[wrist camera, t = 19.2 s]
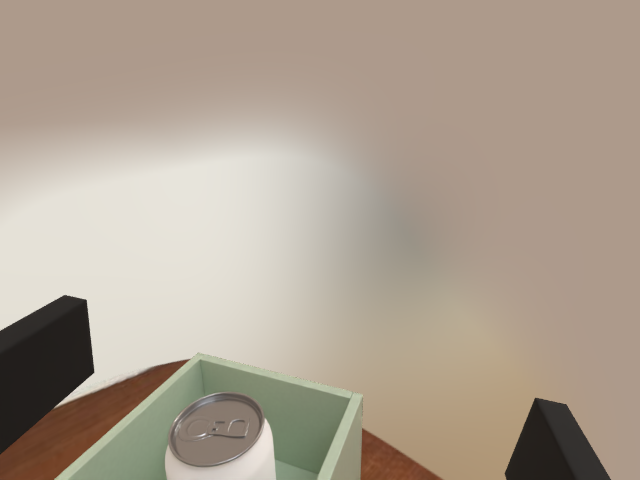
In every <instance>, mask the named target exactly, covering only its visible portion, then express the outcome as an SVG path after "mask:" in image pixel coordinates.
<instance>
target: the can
mask: <svg viewBox="0 0 640 480" xmlns="http://www.w3.org/2000/svg"><path fill="white" fill-rule="evenodd" d="M165 470H166V477H167V480H276V472H275V459H274V446H273V437H272V432H271V428H270V425H269V423H268V422H267V420H266V419H265V417H264V412H263V409H262V407H261V405H260V404H259V403H258V402H257V401H256V400H255V399H254V398H252V397H250V396H248V395H246V394H243V393H239V392H218V393H214V394H210V395H207V396H204V397H202V398H200V399H198V400H196V401H194V402H192V403H191V404H189V405H188V406H187V407H186V408H184V409H183V410H182V411H181V412H180V413H179V414H178V415H177V417H176V418H175V420H174V421H173V423H172V425H171V427H170V430H169V434H168V447H167V450H166V454H165Z"/></svg>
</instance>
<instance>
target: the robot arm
mask: <svg viewBox="0 0 640 480" xmlns="http://www.w3.org/2000/svg"><path fill="white" fill-rule="evenodd" d="M93 373H94V365H93V355H92V346H91V337H90V328H89V318H88V308H87V300H85V299H80V298H76V297H71V296H67V295H64V296H62V297H60V298H59V299H57V300H55V301H53V302H51V303H49V304H48V305H46V306H44V307H42V308H41V309H39V310H37V311H35V312H33V313H31V314H30V315H28V316H26V317H24V318H22V319H21V320H19V321H17V322H15V323H13V324H12V325H10V326H8V327H6V328H4V329H3V330H1V331H0V454H1V453H2V452H4V451H5V450H6V449H7V448H8V447H9V446H10V445H12V444H13V443H14V442H15V441H16V440H17V439H19V438H20V437H21V436H22V435H23V434H24V433H25V432H27V431H28V430H29V429H30V428H31V427H32V426H33V425H35V424H36V423H37V422H38V421H39V420H40V419H41V418H43V417H44V416H45V415H46V414H47V413H48V412H50V411H51V410H52V409H53V408H54V407H55V406H56V405H58V404H59V403H60V402H61V401H62V400H63V399H64V398H66V397H67V396H68V395H69V394H70V393H71V392H73V391H74V390H75V389H76V388H77V387H78V386H79V385H81V384H82V383H83V382H84V381H85V380H86V379H87V378H89V377H90V376H91V375H92V374H93ZM505 476H506V479H507V480H611V479H610V477H609V476H608V474H607V472H606V471H605V469H604V467H603V465H602V464H601V463H600V460H599V459H598V457H597V455H596V454H595V452H594V450H593V449H592V447H591V445H590V444H589V442H588V440H587V438H586V437H585V435H584V434H583V432H582V430H581V428H580V427H579V425H578V423H577V422H576V420H575V418H574V417H573V415H572V413H571V411H570V410H569V408H568V406H567V405H566V404H562V403H557V402H553V401H548V400H543V399H539V398H535V399H534V402H533V405H532V407H531V409H530V412H529V415H528V417H527V420H526V422H525V424H524V427H523V430H522V432H521V434H520V437H519V439H518V442H517V444H516V447H515V449H514V452H513V454H512V457H511V459H510V462H509V464H508V467H507V469H506V472H505Z"/></svg>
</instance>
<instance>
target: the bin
mask: <svg viewBox="0 0 640 480" xmlns="http://www.w3.org/2000/svg"><path fill="white" fill-rule="evenodd" d="M218 392H239V393H243V394H246V395H248V396H250V397H252V398H254V399H255V400H256V401H257V402H258V403H259V404H260V405H261V407H262V409H263V412H264V417H265V419H266V420H267V422H268V423H269V425H270V428H271V432H272V437H273V446H274V459H275V472H276V480H360V475H361V441H362V408H363V395H362V394H359V393H355V392H352V391H348V390H343V389H339V388H336V387H332V386H328V385H324V384H320V383H316V382H312V381H308V380H304V379H300V378H296V377H292V376H288V375H285V374H280V373H277V372H273V371H269V370H265V369H261V368H257V367H253V366H249V365H245V364H241V363H237V362H233V361H229V360H226V359H222V358H218V357H214V356H210V355H205V354H202V353H197V354H196V355H195V356H194V357H193V358H192V359H190V360H189V361H188V362H187V363H186V364H185V365H184V366H182V367H181V368H180V369H179V370H178V371H177V372H176V373H175V374H173V375H172V376H171V377H170V378H169V379H168V380H167V381H165V382H164V383H163V384H162V385H161V386H160V387H159V388H157V389H156V390H155V391H154V392H153V393H152V394H151V395H150V396H148V397H147V398H146V399H145V400H144V401H143V402H142V403H140V404H139V405H138V406H137V407H136V408H135V409H134V410H133V411H131V412H130V413H129V414H128V415H127V416H126V417H125V418H123V419H122V420H121V421H120V422H119V423H118V424H117V425H115V426H114V427H113V428H112V429H111V430H110V431H109V432H108V433H106V434H105V435H104V436H103V437H102V438H101V439H100V440H98V441H97V442H96V443H95V444H94V445H93V446H92V447H91V448H89V449H88V450H87V451H86V452H85V453H84V454H83V455H81V456H80V457H79V458H78V459H77V460H76V461H75V462H73V463H72V464H71V465H70V466H69V467H68V468H67V469H66V470H64V471H63V472H62V473H61V474H60V475H59V476H58V477H56V478H55V479H54V480H167V477H166V470H165V454H166V450H167V447H168V434H169V430H170V427H171V425H172V423H173V421H174V420H175V418H176V417H177V415H178V414H179V413H180V412H181V411H182V410H183V409H184V408H186V407H187V406H188V405H189V404H191V403H192V402H194V401H196V400H198V399H200V398H202V397H204V396H207V395H210V394H214V393H218Z"/></svg>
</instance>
